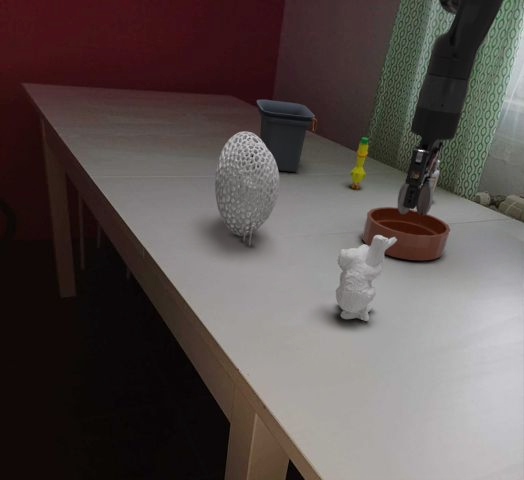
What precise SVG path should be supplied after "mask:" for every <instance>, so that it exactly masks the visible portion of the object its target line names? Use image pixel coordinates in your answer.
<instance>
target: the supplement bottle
mask: <svg viewBox="0 0 524 480" xmlns="http://www.w3.org/2000/svg"><path fill="white" fill-rule="evenodd" d="M440 163H441V160H440V159H438V162H437V166H436V168H435V169H436V170H435V172H434V174H433V176H432V177H431V179H429V183H430V186H431V187H432V191H433V196H434V195H435V191H436V187H437V185H438V180H439V177H440V170H439V169H438V168H439V167H440ZM418 177H419V176H418V175H417V174H415V175H414V178H416V179H417V178H418Z"/></svg>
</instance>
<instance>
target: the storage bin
mask: <svg viewBox="0 0 524 480" xmlns="http://www.w3.org/2000/svg"><path fill="white" fill-rule="evenodd" d="M256 104H257V111H258V112H259V114H260V135H259V138H260V139H261V140H262V141H263V142H264V144H265V146H266V147H267V149H268V150H269V151H270V152H271V154H272V155H273V157H274V159H275V161H276V164H277V168H278V172H279V171H280V172H290V173H294V172H295V173H296V172H297V171H298V170H299V165H300V161H301V157H302V151H303V146H304V143H305V139H306V138H305V137H306V133H307V128H308V127H309V126H311V131H312V132H313V133H314V134H315V133H316V132H317V126H318V120H317V118H315V117H316V115H315V114H314V113H313V112H312V111H311V110H310V109H309V108H308V107H307V106H306V105H304V104H300V103H296V102H287V101H279V100H270V99H257V100H256Z"/></svg>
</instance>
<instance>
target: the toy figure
mask: <svg viewBox="0 0 524 480" xmlns="http://www.w3.org/2000/svg"><path fill="white" fill-rule="evenodd" d="M369 144H370V143H369V138H368V137H365V136H363V137H361V140H360V141H359V144H358V149H357V150H356V155H357V156H356V165H355V167H354V168H352V170H350V178H351V181H352V183H351V187H350V188H351V189H356V190H358V189H360V183H361V182H362V180H363V179H365V177H366V174H367V173H366V171H365V169H364V163H365V160H366V158H367V156H368V154H369V152H368V149H369Z"/></svg>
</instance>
